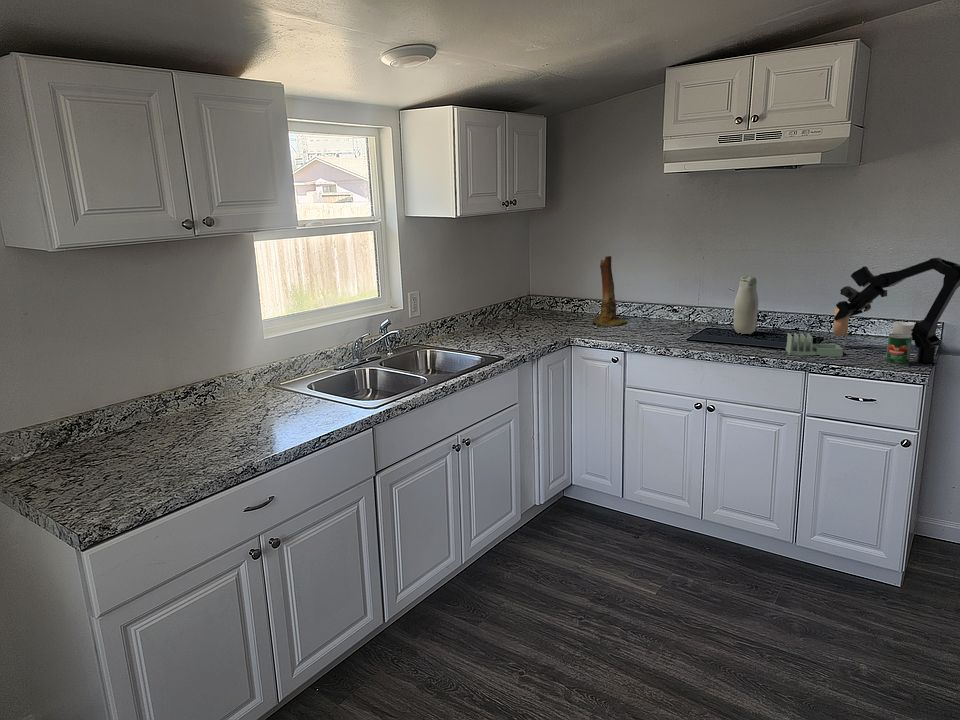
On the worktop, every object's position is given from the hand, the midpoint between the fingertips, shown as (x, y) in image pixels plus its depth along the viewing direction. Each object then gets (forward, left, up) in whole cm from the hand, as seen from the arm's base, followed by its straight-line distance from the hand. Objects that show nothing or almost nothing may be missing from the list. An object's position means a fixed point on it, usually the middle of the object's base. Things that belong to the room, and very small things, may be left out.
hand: (838, 318), depth 293 cm
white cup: (+5, -27, -13) cm, 30 cm away
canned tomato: (-27, -16, -13) cm, 34 cm away
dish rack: (-13, +11, -12) cm, 21 cm away
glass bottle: (+24, +34, -13) cm, 44 cm away
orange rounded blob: (-1, -1, -7) cm, 7 cm away
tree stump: (+46, +99, -13) cm, 110 cm away
